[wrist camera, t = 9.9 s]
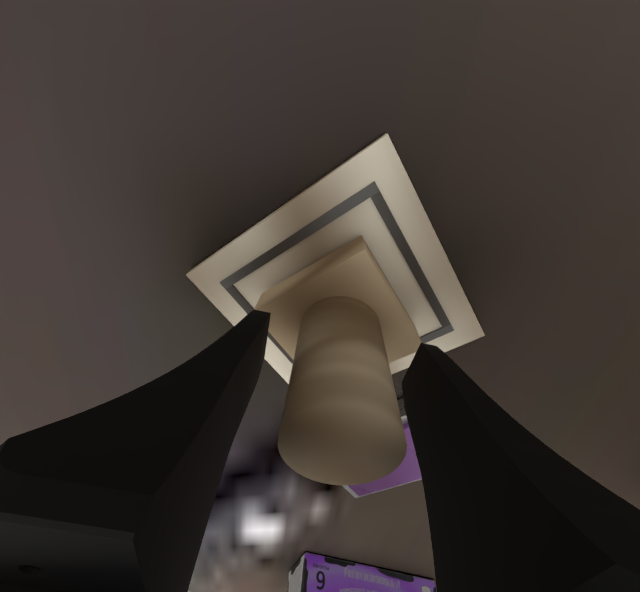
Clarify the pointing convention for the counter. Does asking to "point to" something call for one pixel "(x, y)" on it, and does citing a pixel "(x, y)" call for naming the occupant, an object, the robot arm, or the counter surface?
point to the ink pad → (399, 476)
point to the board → (334, 232)
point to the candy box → (350, 577)
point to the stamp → (341, 367)
